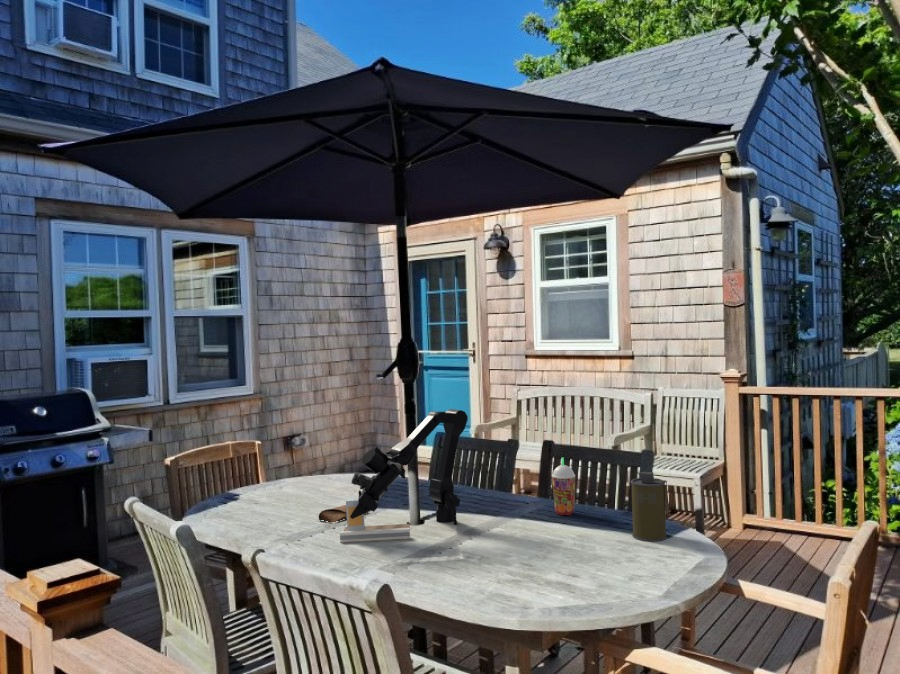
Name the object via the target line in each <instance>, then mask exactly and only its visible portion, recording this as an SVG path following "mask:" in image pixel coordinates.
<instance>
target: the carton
mask: <svg viewBox="0 0 900 674" xmlns="http://www.w3.org/2000/svg"><path fill="white" fill-rule="evenodd" d="M358 497H359V496H358ZM358 497H357V496H356V497H346V498H345V505H346V512H347V520H346V527H347V531H360V530H365V526H366V524H365V515H364V514H362V515H360V516H358V517H356V518H354V519H351V518H350V516H351V514H352V512H353V511H354V509H355V508H356V506H357V505H358V503H359V500H358Z"/></svg>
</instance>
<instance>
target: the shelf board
mask: <svg viewBox="0 0 900 674" xmlns="http://www.w3.org/2000/svg"><path fill="white" fill-rule="evenodd" d="M397 528H411V526H410V523H401V524H398V523H397V524H382V525H379V524H378V525H365V530H378V529H397ZM343 531H347V526H345V527H344V529H343ZM404 540H405V541H406V540H408V539H392V540H391V541H404ZM385 541H386V542H387V541H388V542H389V541H390V540H373V541H355V542H339V543H340V544H349V543H367V542H368V543H371V542H385Z"/></svg>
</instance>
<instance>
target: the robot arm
mask: <svg viewBox="0 0 900 674" xmlns="http://www.w3.org/2000/svg"><path fill="white" fill-rule="evenodd" d="M468 419H469V417H468V414H467V413H466V411H464V410H460V409H454V408H449V409H447V410H446V411H435V410H432V411H430V412H428V414H427V416H426V417H425V418H424V419H423V421H422V422H420V423H419V425H418V426H417V427H416V428H415V429H414V430H413V431H412V432H411V434H409V436H408V437H406V438H405V439H404V440H401V441H399V442H398V443H397V444H395V445H394V446H393V447H392V448H390V450H388V451H386V452H383V451H381V449H380V448H379V447H378V446H373V447H372V448H371V449H369V450H368V451H367V452H366V453H364V454H363V456H362V458H361V463H362V464H363V466H365V467H367V468H368V469H369V470H370V471H372V472H373V475H372V477H370V476H368V475H365V474H363V473H360V472H359V471H358V472H357V471H355V472H354V475H352V479H351V484H353V485H356V486H359V490H358V500H359V503H358V505H357V506H356V508H355V509H354V511H353V512H352V514H351V516H350V518H351V519H354V518H356V517H358V516H360V515H362V514H364V513H367V512H368V513H370V512H373V513H374V512H375V511H376V510H377V509H378V508H379V505H378V504H379V503H378V502H379V500H380V498H381V497H382V495H383V494H384V493H385V492H388V491H389V488H390V487H391V485H393V483H395V481H396V480H397V479H398V478H399V477H401V478H402V479H406V470H405V468H404V467H405V466H408V465H409V464H410V463H412V461H413V459H414V458H415V456H416V455H417V450H418V448H419V447H420V445H421V444H422V443H423V442H424V441H425V440H426V439H427V438H428V437H429V436H430V434H432V432H433V431H434V430H435V429H436V428H437V427H438V426H439V424H443V425H442V426H443V429H444V432H445V433H444V434H445V435H444V439H443V445H442V450H441V457H440V460H439V468H438V472H437V475H436V477H434V478H431V479H430V481H429V487H428V493H429V497H430V498H431V499H432V501H433V504H434V505H437V508H436V509H435V520H436V523H446V524H447V523H453V525H454V526H455V525H458V522H457V507H460V503H461V499H460V498H459V497H457V496H456V494H454V493H455V491H454V490H455V485H454V481H453V471H454V469H455V468H454V466H455V461H456V457H457V456H456V455H457V450H458V446H459V440H460V436H461V435H462V434H463V432H464V431H465V429H466V427H467V424H468V423H467V422H468ZM389 462H390V463H389ZM397 465H400V466H404V467H399V466H397ZM374 474H375V475H374Z"/></svg>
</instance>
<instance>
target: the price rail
mask: <svg viewBox="0 0 900 674" xmlns="http://www.w3.org/2000/svg"><path fill="white" fill-rule="evenodd" d="M410 528H411V527H410ZM410 528H397V529H378V530H360V531H344V530H342V531H340V532H339V541H340V542H353V543H356V542H355V541H371V542H374V541H373V540H389V541H393V540H392V539H407V540H410V539H411V538H410V537H411V531H410V530H411V529H410ZM340 542H339V543H340Z"/></svg>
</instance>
